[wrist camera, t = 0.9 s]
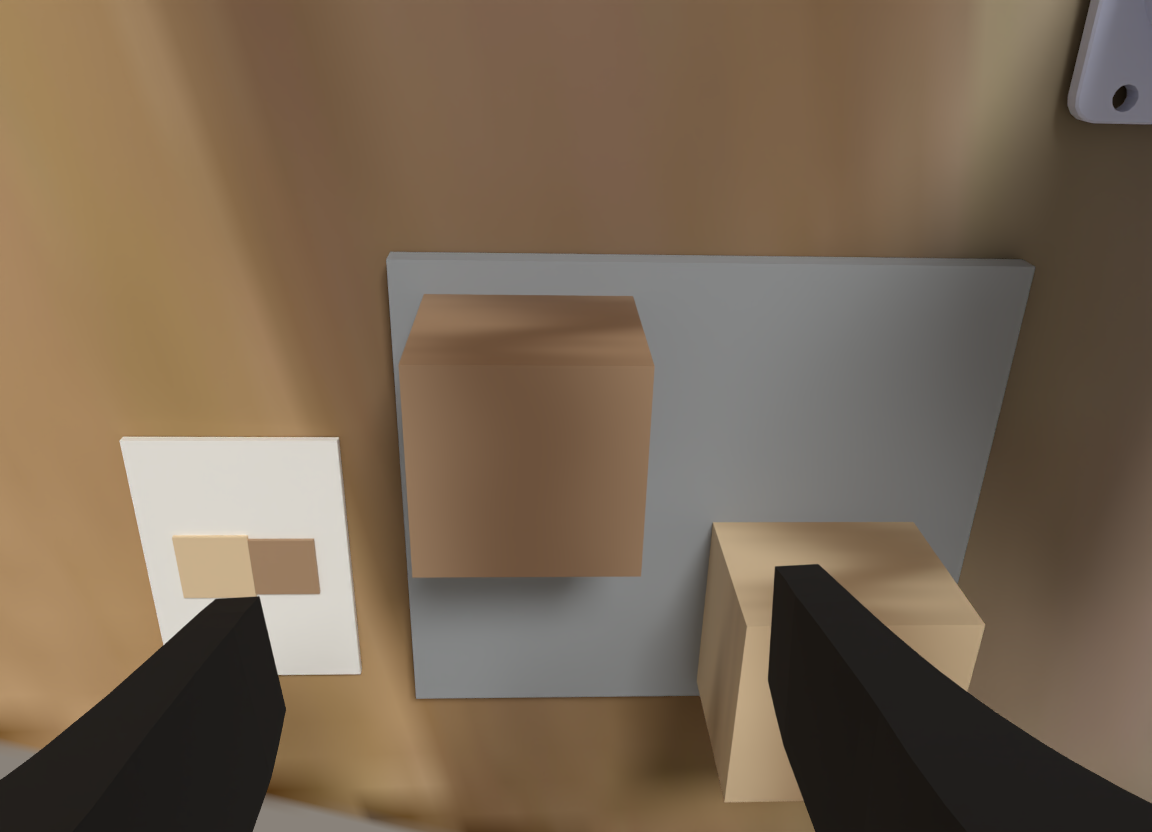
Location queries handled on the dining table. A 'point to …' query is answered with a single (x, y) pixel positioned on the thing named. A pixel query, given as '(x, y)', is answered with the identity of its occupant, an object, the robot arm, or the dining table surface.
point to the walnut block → (526, 435)
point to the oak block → (743, 628)
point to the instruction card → (250, 539)
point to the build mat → (731, 442)
